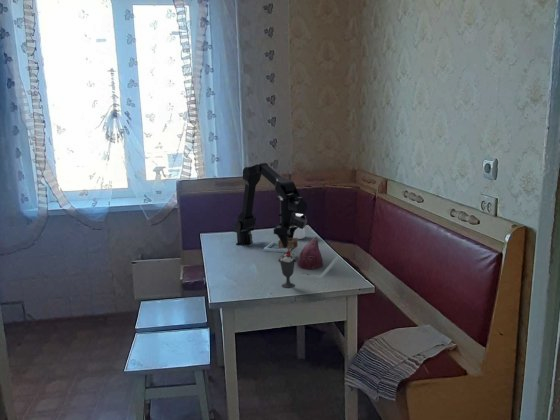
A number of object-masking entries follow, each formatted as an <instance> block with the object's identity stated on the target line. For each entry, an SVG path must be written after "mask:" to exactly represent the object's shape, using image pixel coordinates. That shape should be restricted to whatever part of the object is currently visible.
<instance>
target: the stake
mask: <svg viewBox="0 0 560 420" xmlns="http://www.w3.org/2000/svg"><path fill="white" fill-rule="evenodd" d="M285 249H286V252H288V249H289V248H285ZM289 251H290V252H291V250H289ZM291 254H292V253H291ZM283 255H284V254H281V255H280V258H282V257H283ZM292 256H293V257H294V258H295V259H296V257H297V256H296V254H294V253H293V254H292Z"/></svg>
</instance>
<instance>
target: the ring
mask: <svg viewBox="0 0 560 420" xmlns="http://www.w3.org/2000/svg"><path fill="white" fill-rule="evenodd" d="M277 242H278V244H279V245H278V249H285V248H284V246H283V244H282V242H281V241H280V239H279V240H278V241H277ZM298 244H299V242H298V239H297V238H288V242H287V248H290V249H291V250H292V249H294V248H298V246H299V245H298Z"/></svg>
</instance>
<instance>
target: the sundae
mask: <svg viewBox="0 0 560 420" xmlns="http://www.w3.org/2000/svg"><path fill="white" fill-rule="evenodd" d="M289 250H290V248H289V249H288V252H283V254H282V255H283V257H282V258H281V257H280V258H278V262H279V264H280V267H281V272H282V275H283V276H284V277H285V279H286V280H285V283H283V284H281V287H282V288H283V289H291V288H295V286H296V285H295V284H294V282H293V283H292V282H291V280H290V277H292V275H293V274H294V271H295V263H296V262H297V258H296V257H295V258H294V257H293V256H292V252H291V250H290V251H289Z"/></svg>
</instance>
